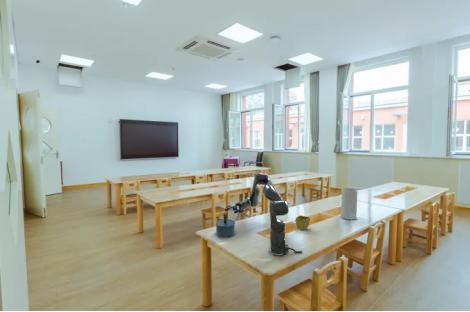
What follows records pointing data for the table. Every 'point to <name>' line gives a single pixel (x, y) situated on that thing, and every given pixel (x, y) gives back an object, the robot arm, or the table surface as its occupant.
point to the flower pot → (302, 222)
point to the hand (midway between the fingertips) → (229, 211)
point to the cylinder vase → (349, 203)
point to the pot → (225, 231)
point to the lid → (225, 222)
